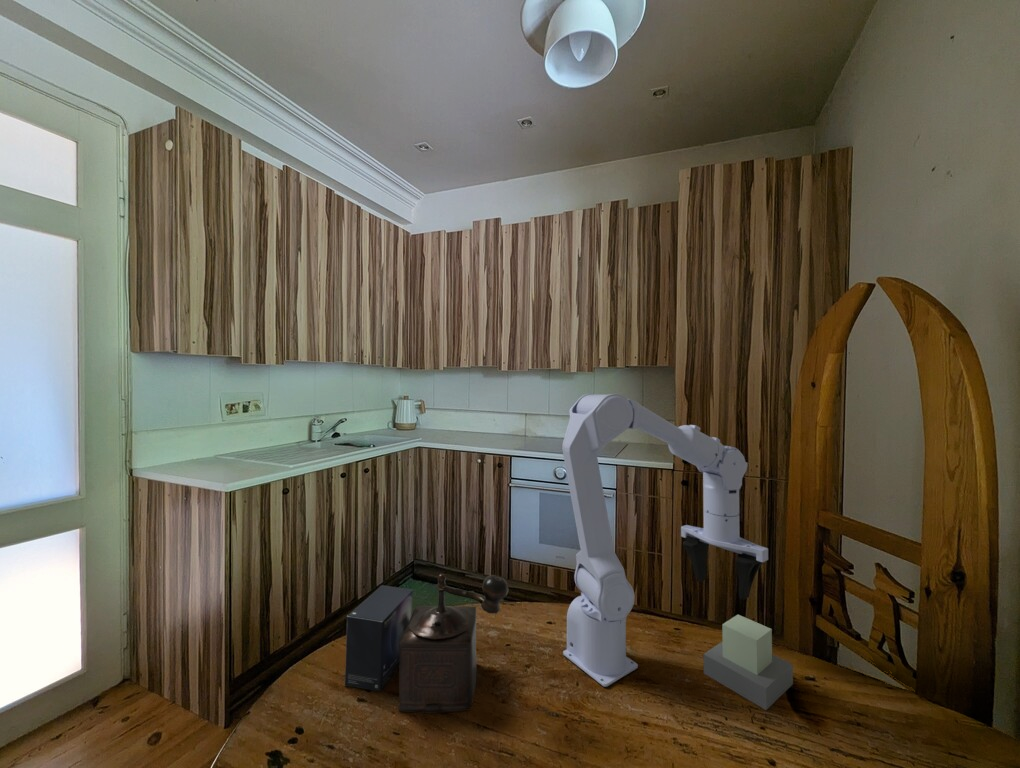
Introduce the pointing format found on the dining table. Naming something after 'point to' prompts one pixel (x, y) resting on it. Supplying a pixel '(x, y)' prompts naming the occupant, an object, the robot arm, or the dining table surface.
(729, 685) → the gray plinth
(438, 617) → the manual coffee grinder
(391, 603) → the small box
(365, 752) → the dining table surface
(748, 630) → the green cube
